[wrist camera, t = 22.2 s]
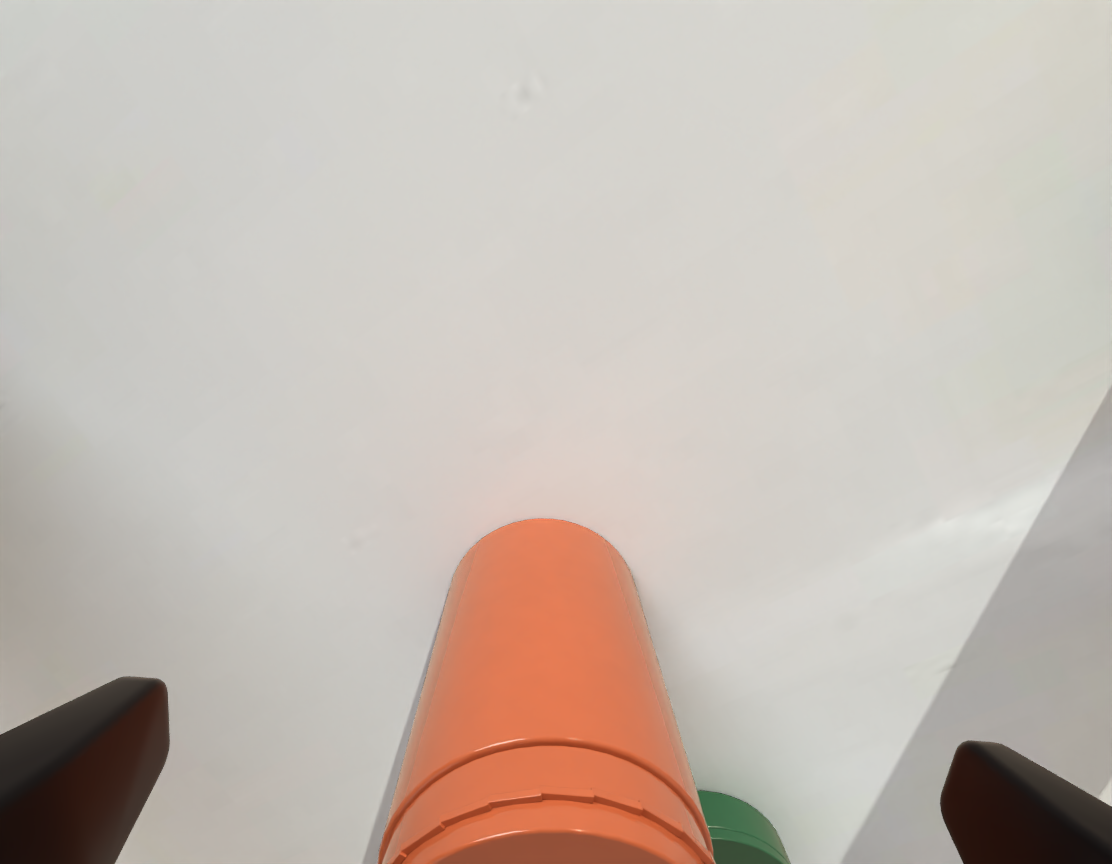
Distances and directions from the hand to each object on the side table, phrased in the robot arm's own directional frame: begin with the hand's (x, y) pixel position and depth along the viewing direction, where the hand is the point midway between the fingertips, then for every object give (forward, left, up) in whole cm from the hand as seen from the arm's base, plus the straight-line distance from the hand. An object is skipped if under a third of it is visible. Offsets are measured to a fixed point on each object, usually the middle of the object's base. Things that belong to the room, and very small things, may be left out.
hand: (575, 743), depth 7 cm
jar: (0, -5, -12) cm, 13 cm away
